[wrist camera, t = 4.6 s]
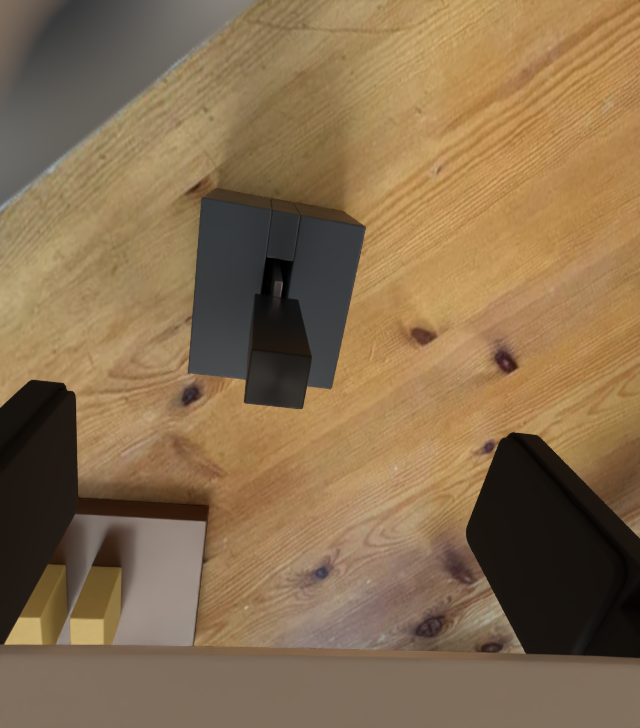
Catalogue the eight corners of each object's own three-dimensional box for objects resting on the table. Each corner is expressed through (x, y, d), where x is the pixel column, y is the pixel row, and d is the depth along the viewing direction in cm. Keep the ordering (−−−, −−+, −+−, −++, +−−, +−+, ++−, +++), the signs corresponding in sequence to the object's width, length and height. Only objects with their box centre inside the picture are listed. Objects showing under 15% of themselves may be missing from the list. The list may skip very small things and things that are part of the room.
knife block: (202, 330, 27) (187, 373, 22) (215, 187, 24) (201, 196, 19) (318, 345, 29) (331, 389, 23) (344, 211, 26) (366, 226, 20)
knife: (252, 296, 27) (241, 420, 14) (258, 243, 26) (253, 329, 13) (282, 300, 27) (299, 426, 14) (290, 249, 26) (316, 337, 13)
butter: (-25, 613, 32) (-61, 671, 29) (-32, 560, 30) (-73, 615, 27) (68, 615, 33) (44, 672, 30) (66, 564, 31) (40, 617, 28)
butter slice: (91, 616, 34) (71, 672, 30) (91, 565, 32) (69, 618, 28) (120, 617, 34) (103, 672, 30) (121, 566, 32) (103, 619, 28)
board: (-81, 636, 34) (-95, 655, 33) (-115, 484, 29) (-134, 500, 28) (194, 640, 38) (192, 658, 37) (209, 505, 33) (207, 521, 31)
